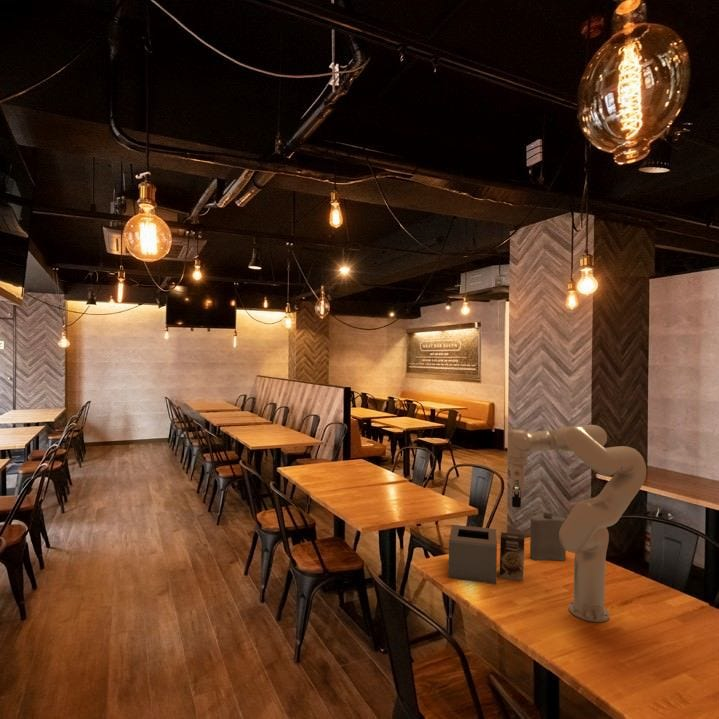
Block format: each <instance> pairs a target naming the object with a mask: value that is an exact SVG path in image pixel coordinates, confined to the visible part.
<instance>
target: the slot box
mask: <svg viewBox="0 0 719 719" xmlns="http://www.w3.org/2000/svg"><path fill="white" fill-rule="evenodd" d="M497 538H498V537H497V529H496V528H491V527H490V528H488V527H481V526H480V527H479V526H470V525H461V524H460V525H459V524H452V525H451V529H450V533H449V539H448V579H453V580H454V579H455V580H460V581H469V582H477V583H483V582H485V583H484V584H491V583H493V585H497V567H498V565H497V562H498V560H497V558H498V540H497Z"/></svg>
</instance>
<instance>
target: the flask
mask: <svg viewBox="0 0 719 719" xmlns="http://www.w3.org/2000/svg"><path fill="white" fill-rule="evenodd" d="M565 520H566V518H564V517H562V516H558V515H557V516H555V515H554V516H553V512H551V511H549V510H545V511H543V515H533V516H531V517H530V535H529V536H530V537H529V538H530V541H529V542H530V543H529V544H530V545H529V547H530V548H529V549H530V551H529V558H530V559H531V560H533V559H534V560H533V561H537V560H539V561H556V560H561V561H560V562H563V561H566V557H567V556H566V554H567V553H566V552H567V550H565V549H564V548H563V547H562V545H561V543H560V540H559V531H560V528H561V526H562V524H563V523H564V521H565Z"/></svg>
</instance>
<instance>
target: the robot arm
mask: <svg viewBox="0 0 719 719" xmlns="http://www.w3.org/2000/svg"><path fill="white" fill-rule="evenodd" d="M607 441H608V435H607V432H606V430H605V429H604V428H602V427H601V426H599V425H596V424H583V425H575V426H564V427H560V428H558V429H553V430H537V431H526V430H525V429H521V428H520V429H519V428H515V429H514V428H512V429H509V430H508V432H507V459H506V460H507V465H509V467H510V470H509V471H510V473H509V474H510V476H509V477H510V487H511V488H510V489H511V491H512V496H511V500H512V501H511V506H512V508H518V509H519V508H521V507H522V506H521V505H522V492H524V491H525V479H526V478H525V471H526V470H525V467H526V466H528V453H533V452H542V451H552V450H553V451H555V450H561V451H563V452H572V453H573V454H574V455H575V456H577V458H579V459H580V460H581V461H582V462H583V463H584V464H586V465H587V466H588V467H589V468H590V469H592V471H594V472H595V473H597V474H599V475H602V476H613V477H611V478H610V479H609V480H608V481H607V482H606V484H605V485H604V487H603V488H602V490H600V493H598V495H596V496H594V497H591V498H587V499H583V500H580V501H578V503H576V504H575V505H574V506H573V508H572V509H571V511H570V512H569V514H568V515H567V517H566V518H565V519H566V520H565V521H564V523H563V524H562V526H561V528H560V531H559V540H560V543H561V545H562V547H563V548H564V549H565V550H566V552H569V553H572V554H574V560H573V562H574V565H573V600H572V601H571V602H569V604H568V610H569V612H570V613H571V614H572V615H573V616H575V617H576V618H579V619H581V620H584V621H586V622H592V623H603V622H606V621H609V619H610V612H609V610H608V609H607V608H605V600H606V599H605V597H606V596H605V595H606V594H605V593H606V592H605V591H606V585H605V584H606V557H607V550H608V545H609V541H610V538H609V536H610V534H609V531H608V527H611V526H614V525H616V523H618V522H619V520H620V519H621V517H622V515H623V514H624V513H625V511H626V510H627V508H628V507H629V506H630V504H631V502H633V500H634V498H635V497H636V495H637V494H638V493H639V491H640V490H641V489H642V486H643V485H644V483H645V481H646V476H647V466H646V463H645V459H644V457H643V455H642V454H641V453H640V452H639V451H638V450H637V449H636V448H633V447H630V446H625V445H623V446H621V445H620V446H618V445H617V446H612V447H611V446H610V447H604V446H605V445H606V443H607Z"/></svg>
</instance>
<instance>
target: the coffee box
mask: <svg viewBox="0 0 719 719" xmlns="http://www.w3.org/2000/svg"><path fill="white" fill-rule="evenodd" d="M499 546H500V549H499V551H500V553H499V575H498V576H499V578H501V579H502V578H503V579H506V580H507V579H508V580H515V581H522V582H523V581H524V569H525V566H524V565H525V562H524V561H525V535H524V534H520V533H519V534H518V533H511V532H502V531H501V532H500V544H499Z"/></svg>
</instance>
